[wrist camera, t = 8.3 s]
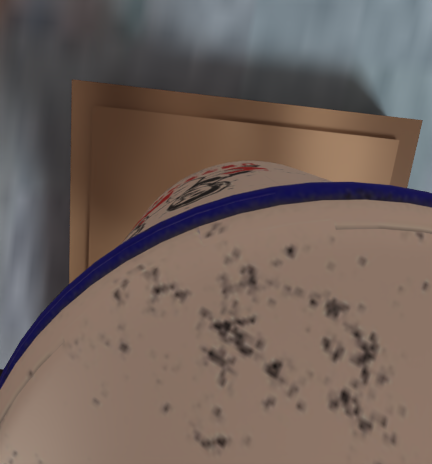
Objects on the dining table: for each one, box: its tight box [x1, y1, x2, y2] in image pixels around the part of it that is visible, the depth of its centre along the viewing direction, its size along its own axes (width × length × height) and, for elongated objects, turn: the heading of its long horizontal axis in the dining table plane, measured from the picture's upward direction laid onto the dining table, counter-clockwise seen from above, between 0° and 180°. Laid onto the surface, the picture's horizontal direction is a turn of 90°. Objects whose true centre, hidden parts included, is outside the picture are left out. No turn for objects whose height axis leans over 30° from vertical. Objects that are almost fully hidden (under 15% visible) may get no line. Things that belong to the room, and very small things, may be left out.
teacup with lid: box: [0, 161, 432, 464], centre depth 8 cm, size 12×9×12 cm
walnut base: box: [69, 80, 423, 284], centre depth 20 cm, size 16×16×3 cm
